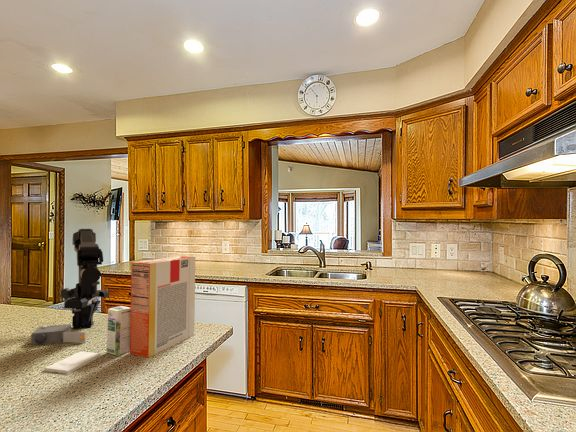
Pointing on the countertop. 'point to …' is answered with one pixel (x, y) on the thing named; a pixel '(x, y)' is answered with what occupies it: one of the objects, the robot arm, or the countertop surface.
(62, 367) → the external hard drive
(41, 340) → the camera block
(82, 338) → the side door
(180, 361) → the countertop surface
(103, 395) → the countertop surface
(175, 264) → the cereal box
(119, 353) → the syrup box
